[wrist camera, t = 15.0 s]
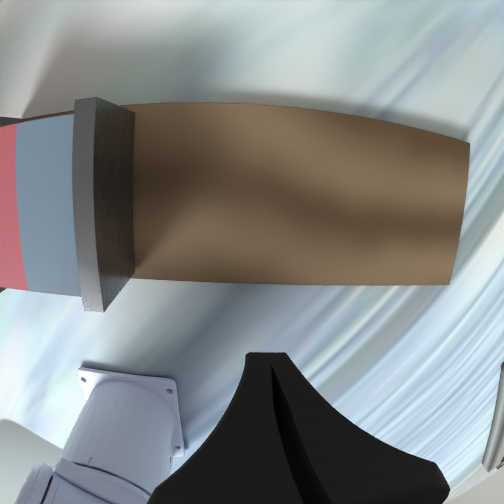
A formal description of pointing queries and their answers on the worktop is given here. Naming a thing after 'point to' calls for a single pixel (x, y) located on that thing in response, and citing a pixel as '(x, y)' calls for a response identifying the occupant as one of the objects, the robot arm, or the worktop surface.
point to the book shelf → (291, 196)
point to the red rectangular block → (9, 214)
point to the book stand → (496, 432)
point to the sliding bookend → (103, 199)
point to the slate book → (47, 205)
